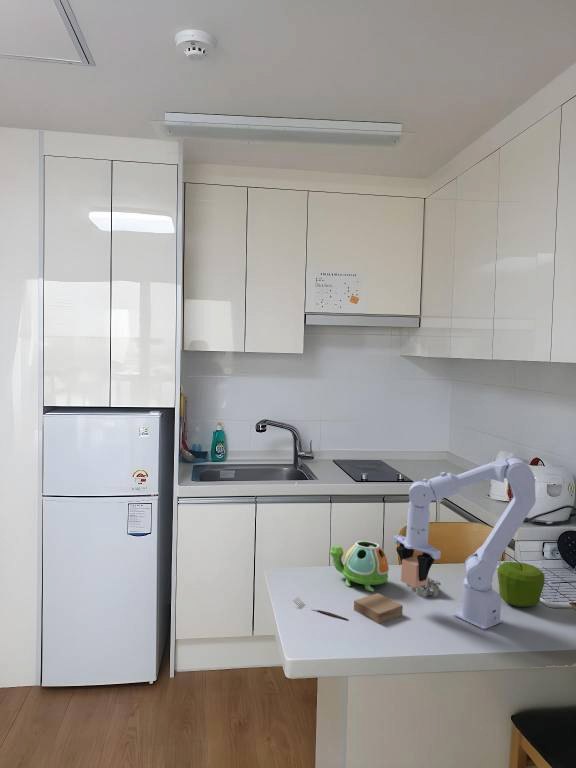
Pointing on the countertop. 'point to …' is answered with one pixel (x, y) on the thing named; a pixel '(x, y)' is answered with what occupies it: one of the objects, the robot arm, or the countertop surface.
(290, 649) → the countertop surface
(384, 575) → the turtle holder
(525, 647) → the countertop surface
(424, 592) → the egg carton
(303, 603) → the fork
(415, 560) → the terracotta block
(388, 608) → the walnut block
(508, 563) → the apple
